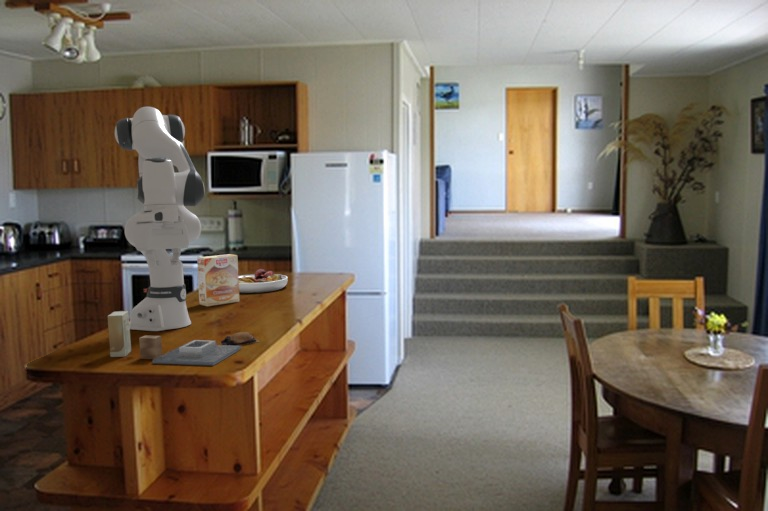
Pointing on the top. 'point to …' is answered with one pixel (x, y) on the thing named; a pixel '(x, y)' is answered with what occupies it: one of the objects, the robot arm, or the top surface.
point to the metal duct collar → (198, 353)
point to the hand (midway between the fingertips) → (164, 266)
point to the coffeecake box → (218, 279)
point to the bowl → (261, 282)
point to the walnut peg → (150, 347)
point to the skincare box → (119, 334)
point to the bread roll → (239, 339)
